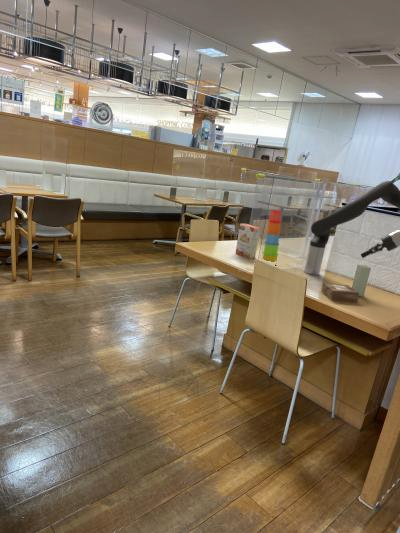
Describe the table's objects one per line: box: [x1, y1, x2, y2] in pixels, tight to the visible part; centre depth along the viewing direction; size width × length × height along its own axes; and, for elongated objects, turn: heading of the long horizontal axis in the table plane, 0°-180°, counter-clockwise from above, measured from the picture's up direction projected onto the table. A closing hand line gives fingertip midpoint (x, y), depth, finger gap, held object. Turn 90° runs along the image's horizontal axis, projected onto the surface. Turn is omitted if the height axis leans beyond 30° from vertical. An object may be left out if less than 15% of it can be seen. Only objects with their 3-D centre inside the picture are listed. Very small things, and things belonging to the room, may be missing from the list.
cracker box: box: [235, 223, 261, 260], centre depth 259 cm, size 14×6×21 cm, turn 37°
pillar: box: [351, 264, 372, 297], centre depth 207 cm, size 5×5×16 cm
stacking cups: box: [262, 209, 282, 262], centre depth 243 cm, size 10×10×35 cm
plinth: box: [321, 282, 360, 303], centre depth 200 cm, size 12×14×5 cm
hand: (362, 255), depth 195 cm, fingers open, 8 cm apart
